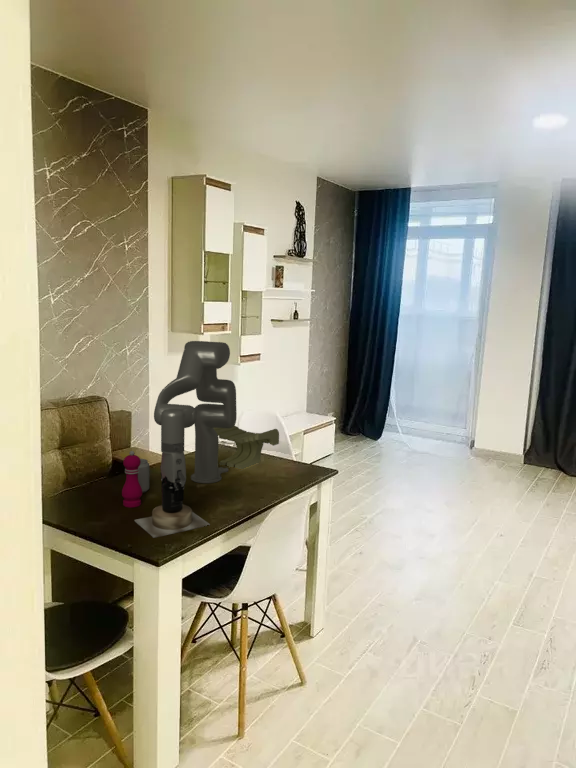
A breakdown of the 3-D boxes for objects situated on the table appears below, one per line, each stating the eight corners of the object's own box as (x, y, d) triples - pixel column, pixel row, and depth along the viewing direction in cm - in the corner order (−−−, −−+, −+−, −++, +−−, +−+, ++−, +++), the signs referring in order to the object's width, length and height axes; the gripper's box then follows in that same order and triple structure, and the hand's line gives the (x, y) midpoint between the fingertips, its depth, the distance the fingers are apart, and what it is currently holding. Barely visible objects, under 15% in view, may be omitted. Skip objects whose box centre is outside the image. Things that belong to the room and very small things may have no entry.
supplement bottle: (184, 506, 204) (184, 472, 202) (180, 514, 198) (180, 479, 196) (164, 505, 204) (164, 471, 203) (159, 513, 198) (159, 478, 196)
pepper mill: (144, 506, 216) (144, 452, 212) (124, 509, 212) (124, 454, 209) (139, 499, 222) (139, 447, 219) (119, 502, 218) (119, 449, 215)
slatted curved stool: (278, 465, 271) (279, 427, 268) (257, 474, 258) (258, 433, 255) (226, 453, 287) (227, 417, 284) (204, 461, 274) (204, 423, 271)
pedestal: (188, 510, 214) (188, 497, 213) (209, 525, 201) (210, 512, 200) (134, 521, 202) (134, 508, 201) (153, 537, 189) (153, 524, 189)
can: (125, 491, 230) (125, 461, 228) (138, 486, 237) (138, 456, 235) (140, 495, 227) (140, 464, 225) (153, 489, 234) (153, 459, 232)
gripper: (195, 451, 193) (194, 502, 195) (172, 439, 206) (171, 487, 209) (173, 454, 188) (173, 506, 191) (151, 442, 202) (151, 490, 205)
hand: (172, 496), depth 200 cm, fingers open, 9 cm apart
